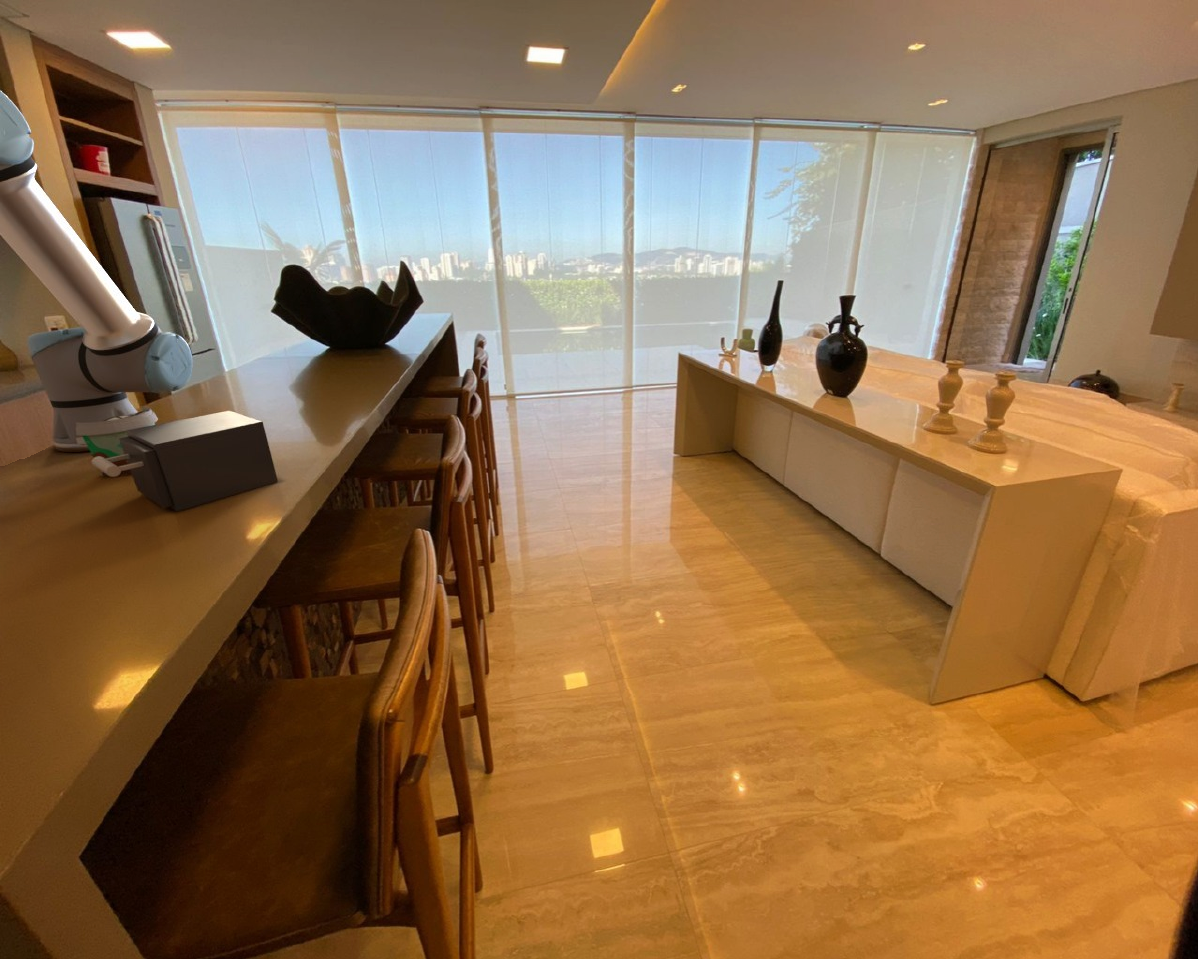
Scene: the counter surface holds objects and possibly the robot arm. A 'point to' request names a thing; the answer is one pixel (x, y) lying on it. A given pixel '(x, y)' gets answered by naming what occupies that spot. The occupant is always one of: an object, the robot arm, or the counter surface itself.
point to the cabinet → (209, 456)
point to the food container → (113, 434)
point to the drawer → (139, 470)
